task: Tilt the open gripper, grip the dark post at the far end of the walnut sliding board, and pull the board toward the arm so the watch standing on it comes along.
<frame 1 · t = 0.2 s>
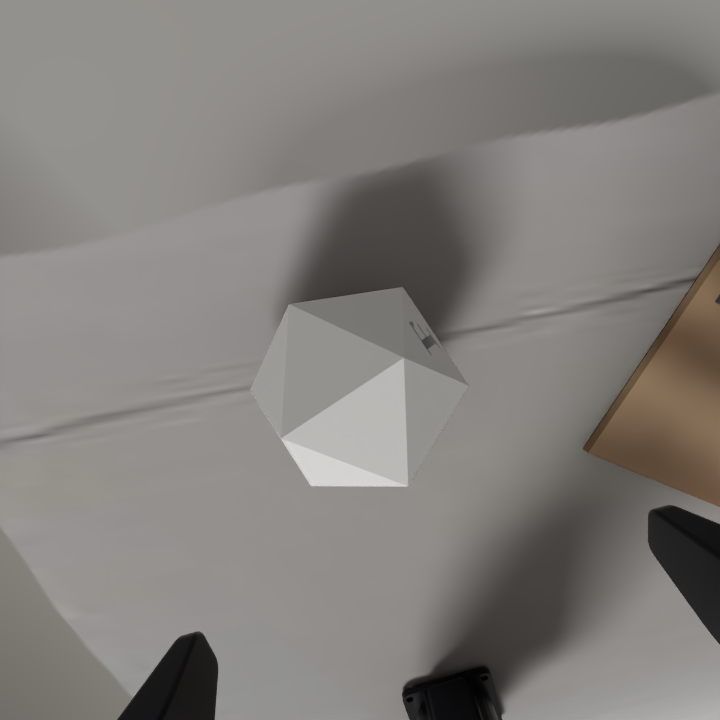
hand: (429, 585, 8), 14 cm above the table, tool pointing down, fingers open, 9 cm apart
die: (349, 359, 22), on the table
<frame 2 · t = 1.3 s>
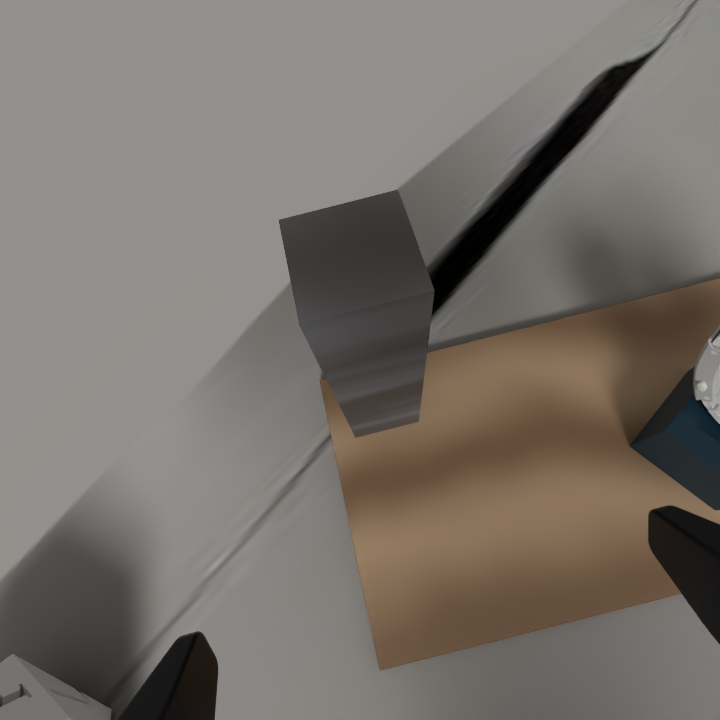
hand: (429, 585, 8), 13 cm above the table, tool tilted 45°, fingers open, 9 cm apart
watch: (700, 437, 21), resting on pull board
pull board: (652, 410, 15), point 7 cm above the table, slide at 0.0 cm, touching watch
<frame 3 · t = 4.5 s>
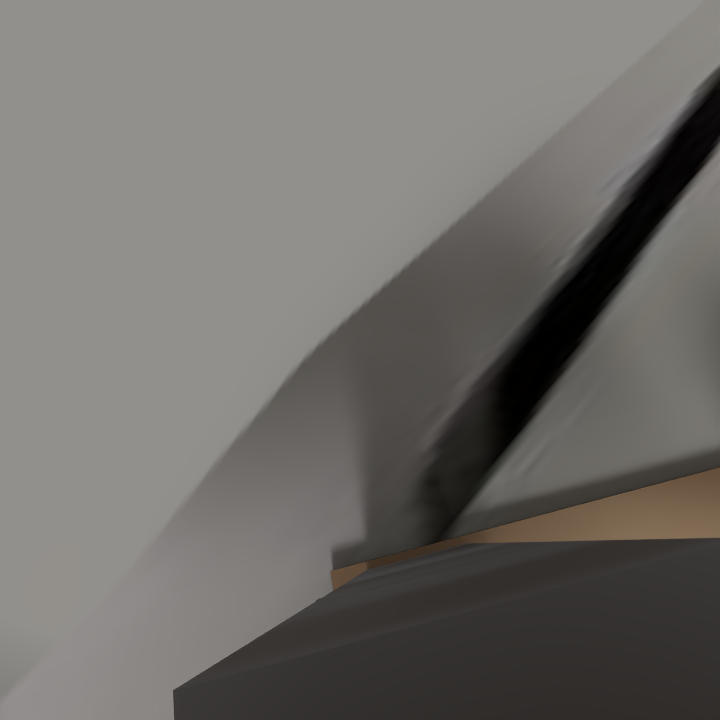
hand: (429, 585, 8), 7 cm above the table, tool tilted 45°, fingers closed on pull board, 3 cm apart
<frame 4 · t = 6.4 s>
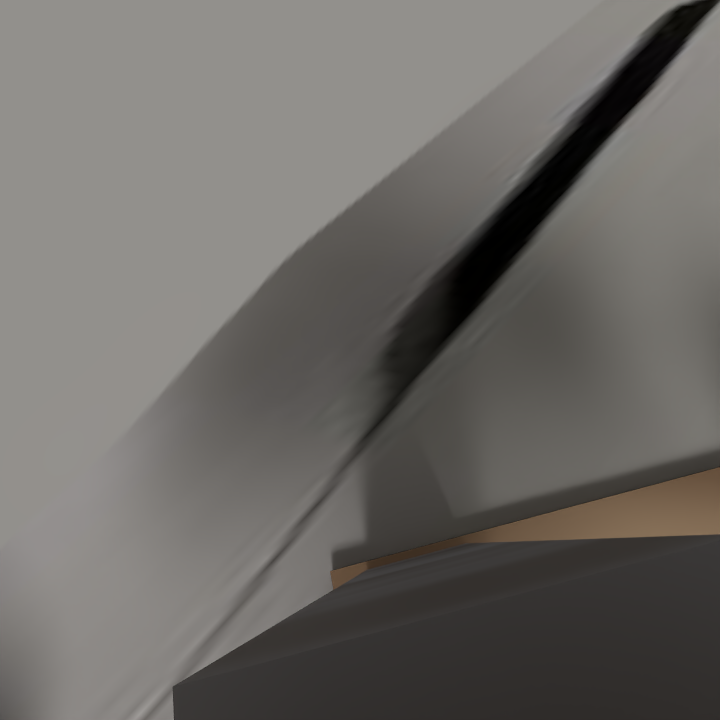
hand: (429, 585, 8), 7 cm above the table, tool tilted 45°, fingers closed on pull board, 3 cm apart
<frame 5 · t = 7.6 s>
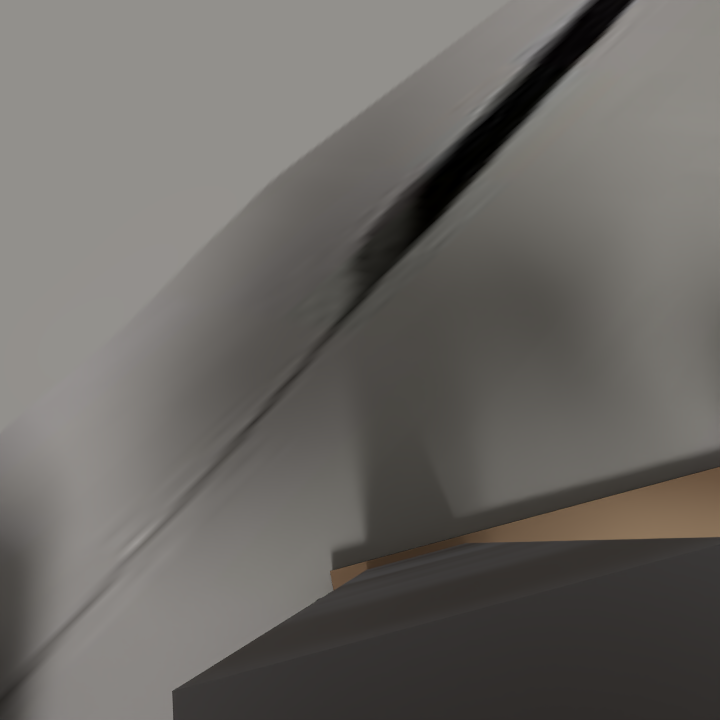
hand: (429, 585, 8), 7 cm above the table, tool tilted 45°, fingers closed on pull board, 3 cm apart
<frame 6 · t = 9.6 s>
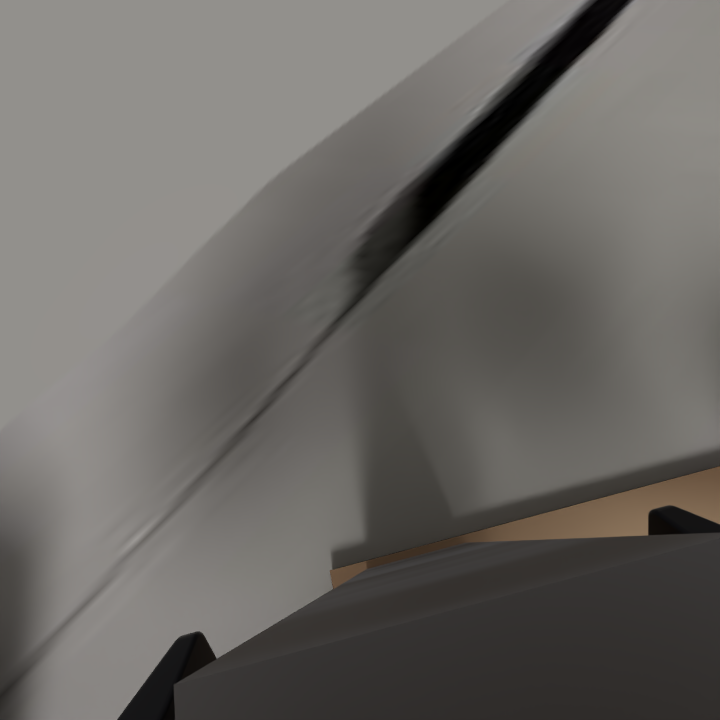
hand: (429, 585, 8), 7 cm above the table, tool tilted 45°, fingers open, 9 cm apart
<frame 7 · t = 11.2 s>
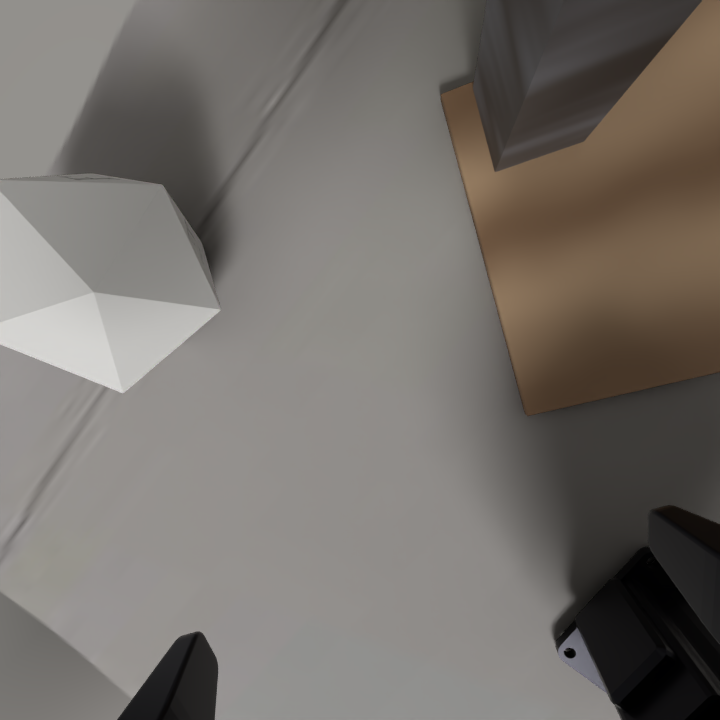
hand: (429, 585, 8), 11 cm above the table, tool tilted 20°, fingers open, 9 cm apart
die: (168, 286, 21), on the table
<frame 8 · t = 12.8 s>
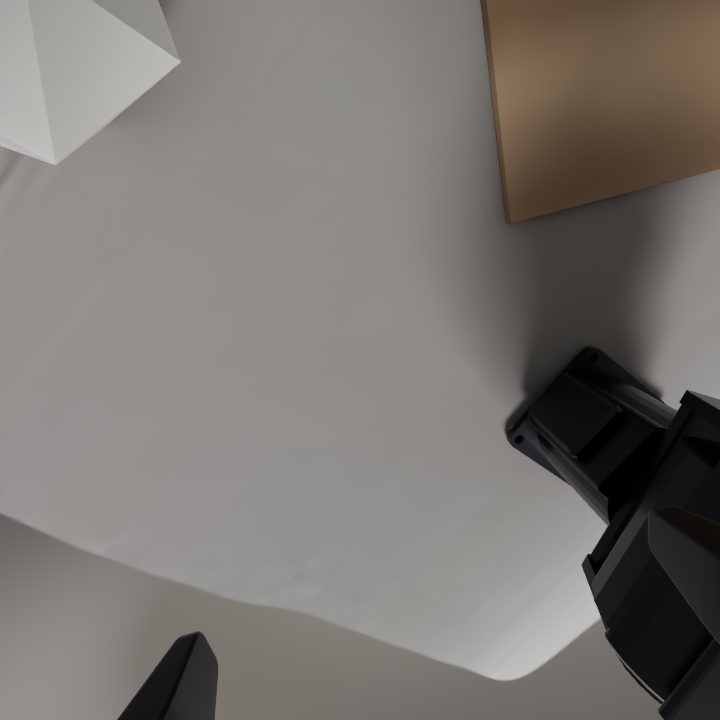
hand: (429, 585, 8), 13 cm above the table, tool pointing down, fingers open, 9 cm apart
die: (73, 39, 15), on the table
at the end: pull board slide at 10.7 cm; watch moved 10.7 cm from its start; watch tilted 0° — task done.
